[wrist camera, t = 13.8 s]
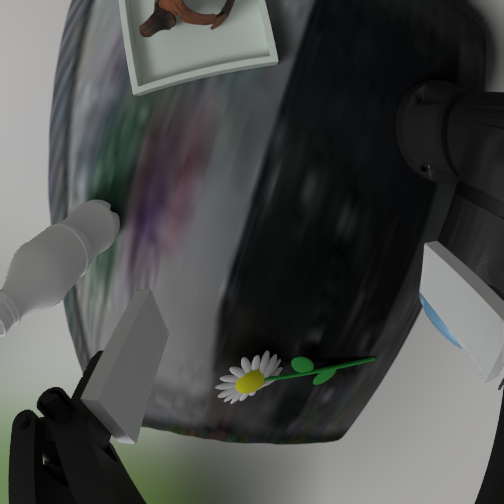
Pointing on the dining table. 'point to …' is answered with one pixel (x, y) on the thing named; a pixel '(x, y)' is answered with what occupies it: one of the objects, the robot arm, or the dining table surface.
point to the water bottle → (55, 261)
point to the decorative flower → (271, 374)
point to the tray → (195, 44)
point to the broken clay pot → (172, 4)
